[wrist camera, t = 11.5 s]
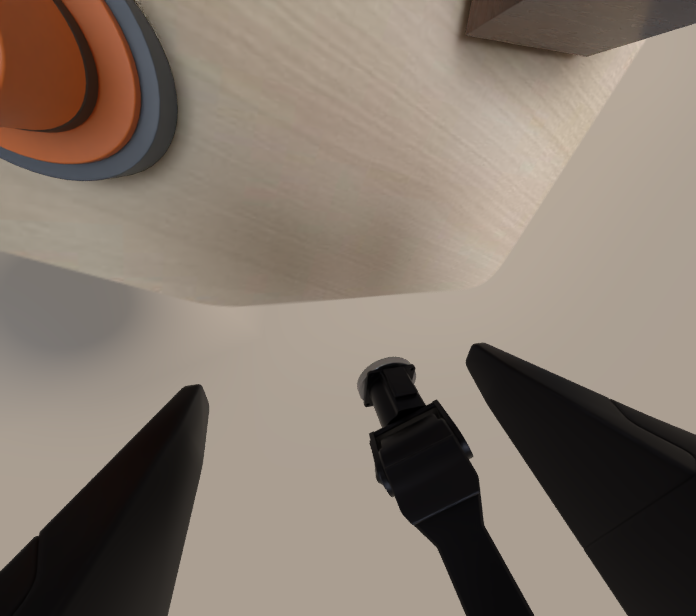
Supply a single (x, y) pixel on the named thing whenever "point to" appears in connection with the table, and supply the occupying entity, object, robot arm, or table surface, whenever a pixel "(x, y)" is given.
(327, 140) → the table surface
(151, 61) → the stand
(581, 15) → the brown lidded box
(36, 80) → the orange top hat
